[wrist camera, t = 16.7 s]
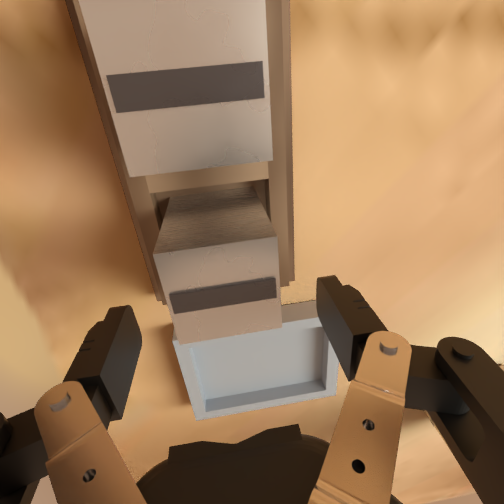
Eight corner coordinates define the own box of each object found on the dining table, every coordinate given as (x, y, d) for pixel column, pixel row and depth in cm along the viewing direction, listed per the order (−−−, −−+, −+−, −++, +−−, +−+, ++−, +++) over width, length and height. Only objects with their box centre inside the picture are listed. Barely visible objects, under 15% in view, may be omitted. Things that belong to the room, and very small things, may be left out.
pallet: (283, -45, 14) (298, -69, 12) (291, 273, 23) (300, 292, 21) (63, -31, 13) (35, -54, 11) (159, 292, 22) (154, 315, 20)
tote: (333, 297, 25) (342, 313, 23) (328, 377, 30) (335, 395, 28) (174, 322, 24) (172, 340, 22) (196, 400, 29) (196, 420, 27)
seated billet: (238, 21, 14) (265, -28, 8) (248, 133, 17) (273, 161, 10) (131, 30, 14) (72, -15, 8) (157, 143, 16) (128, 178, 10)
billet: (253, 186, 18) (278, 238, 12) (259, 256, 21) (283, 329, 14) (170, 197, 18) (151, 256, 12) (186, 267, 20) (179, 347, 14)
